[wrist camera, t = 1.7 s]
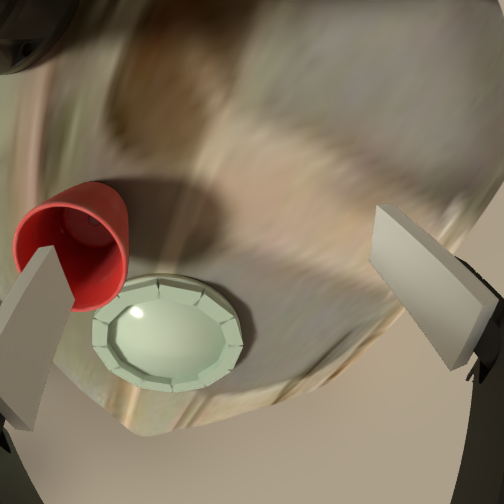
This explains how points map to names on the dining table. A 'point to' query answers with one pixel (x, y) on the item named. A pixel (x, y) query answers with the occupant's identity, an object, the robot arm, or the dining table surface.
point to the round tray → (168, 333)
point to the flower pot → (81, 241)
